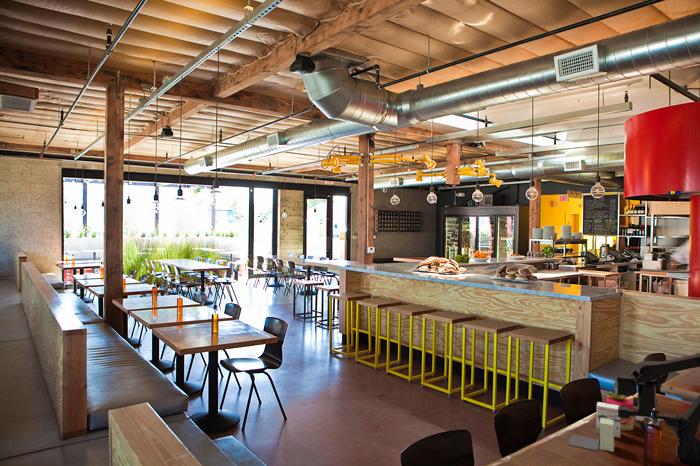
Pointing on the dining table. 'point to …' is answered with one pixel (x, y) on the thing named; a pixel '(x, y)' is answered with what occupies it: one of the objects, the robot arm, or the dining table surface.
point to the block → (607, 434)
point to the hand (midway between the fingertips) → (647, 439)
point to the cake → (622, 401)
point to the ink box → (608, 416)
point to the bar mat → (584, 442)
